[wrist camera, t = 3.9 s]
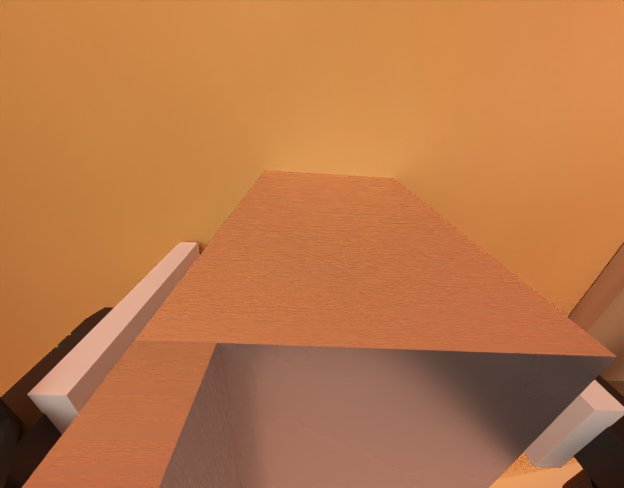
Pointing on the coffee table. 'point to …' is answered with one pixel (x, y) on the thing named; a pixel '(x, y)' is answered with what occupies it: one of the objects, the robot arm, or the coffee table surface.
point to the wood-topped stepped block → (331, 356)
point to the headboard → (606, 317)
